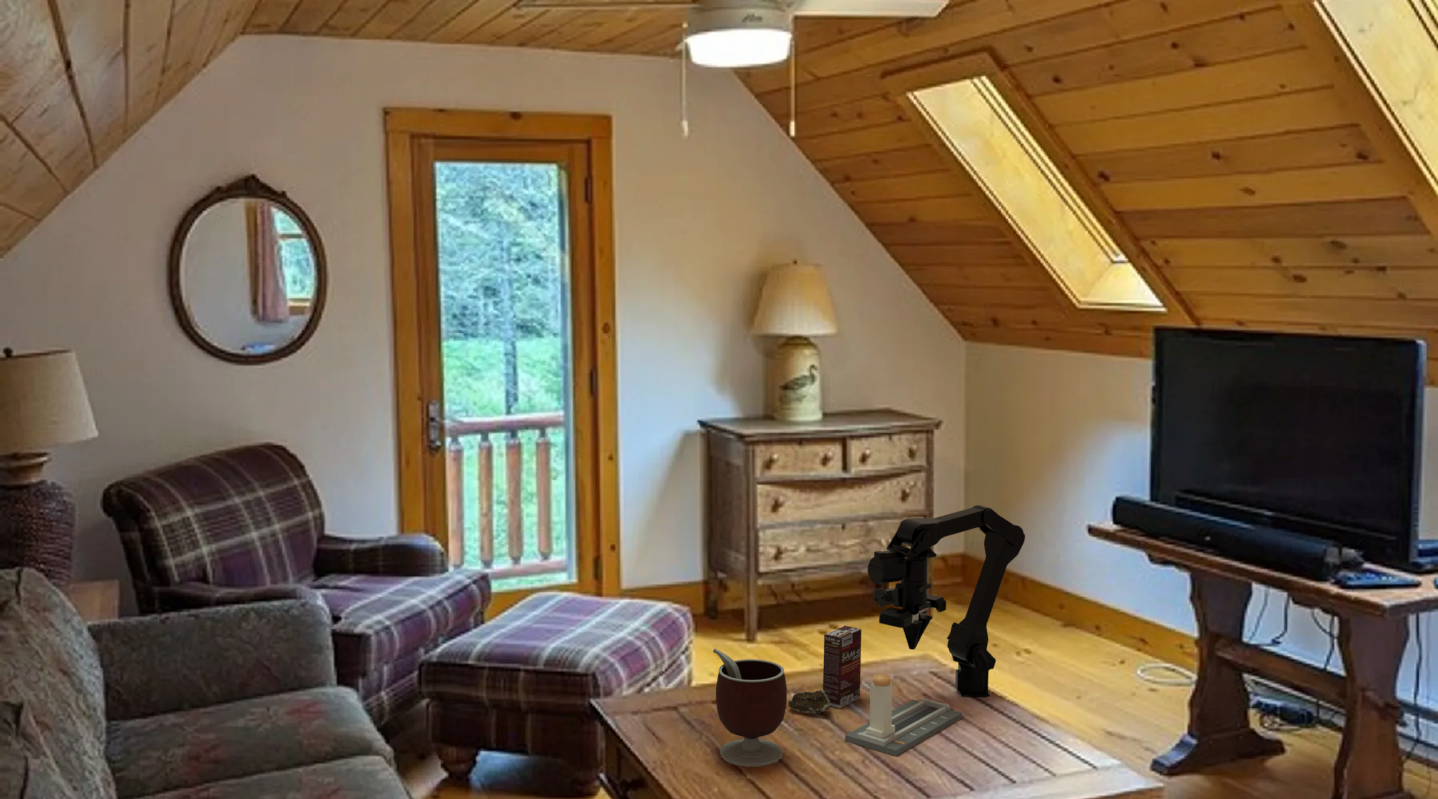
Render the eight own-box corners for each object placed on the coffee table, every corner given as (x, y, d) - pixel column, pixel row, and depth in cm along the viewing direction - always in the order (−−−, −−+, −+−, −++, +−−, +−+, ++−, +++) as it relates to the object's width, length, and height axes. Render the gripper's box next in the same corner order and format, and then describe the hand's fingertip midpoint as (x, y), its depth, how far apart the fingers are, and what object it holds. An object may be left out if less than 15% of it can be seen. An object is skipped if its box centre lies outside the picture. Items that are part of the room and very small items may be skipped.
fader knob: (879, 730, 253) (880, 671, 252) (894, 735, 251) (895, 675, 249) (866, 738, 249) (866, 678, 248) (881, 742, 247) (882, 682, 246)
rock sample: (840, 686, 271) (821, 669, 266) (844, 718, 266) (825, 701, 261) (799, 701, 275) (779, 684, 270) (802, 732, 270) (782, 716, 264)
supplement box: (840, 709, 268) (841, 638, 266) (821, 704, 271) (822, 634, 269) (861, 698, 275) (862, 628, 273) (843, 693, 278) (843, 624, 276)
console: (913, 704, 271) (913, 695, 271) (962, 718, 263) (962, 708, 263) (845, 740, 251) (845, 730, 251) (895, 756, 244) (896, 745, 243)
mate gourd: (798, 748, 247) (799, 651, 245) (765, 774, 235) (765, 671, 233) (731, 733, 255) (731, 639, 253) (695, 757, 243) (695, 658, 241)
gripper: (904, 564, 280) (902, 631, 282) (858, 580, 266) (856, 651, 267) (948, 572, 273) (946, 641, 275) (903, 589, 258) (901, 662, 260)
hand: (912, 649), depth 269 cm, fingers closed
